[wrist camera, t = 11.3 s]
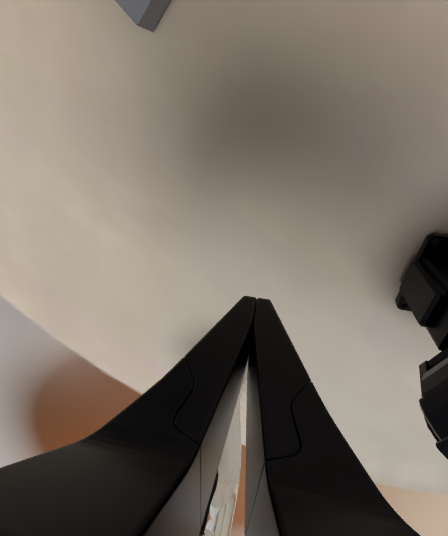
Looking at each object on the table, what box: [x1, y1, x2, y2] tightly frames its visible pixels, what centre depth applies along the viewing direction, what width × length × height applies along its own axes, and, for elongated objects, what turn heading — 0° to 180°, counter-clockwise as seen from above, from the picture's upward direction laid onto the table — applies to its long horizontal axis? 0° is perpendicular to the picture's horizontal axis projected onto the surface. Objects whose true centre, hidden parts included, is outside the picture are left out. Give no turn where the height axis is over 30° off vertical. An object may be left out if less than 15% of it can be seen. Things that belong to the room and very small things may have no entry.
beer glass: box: [199, 362, 248, 536], centre depth 24 cm, size 7×7×15 cm
